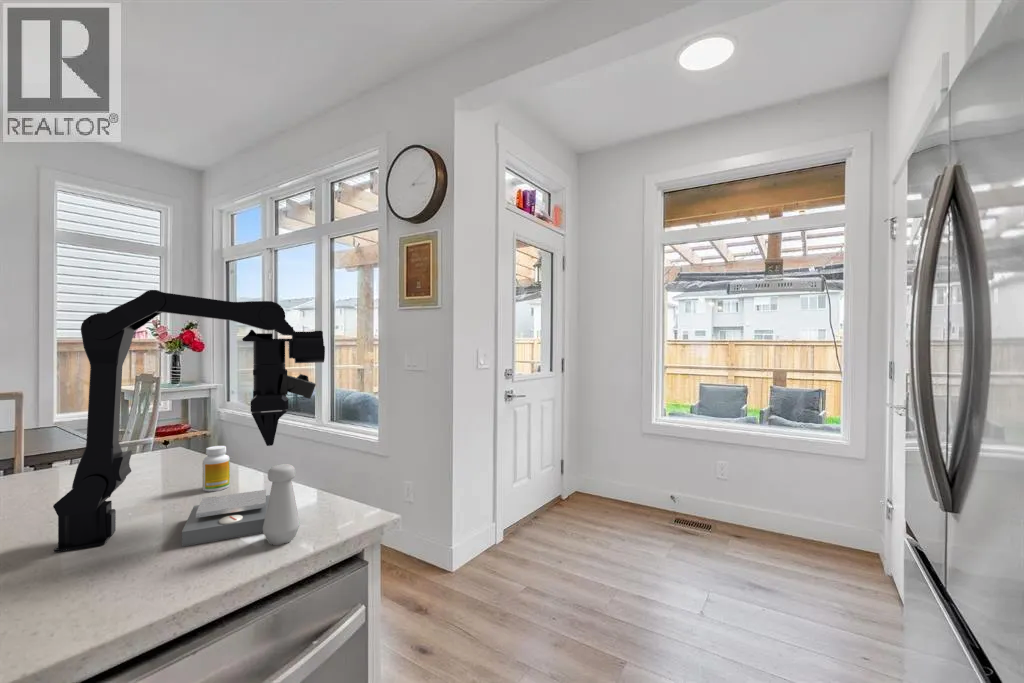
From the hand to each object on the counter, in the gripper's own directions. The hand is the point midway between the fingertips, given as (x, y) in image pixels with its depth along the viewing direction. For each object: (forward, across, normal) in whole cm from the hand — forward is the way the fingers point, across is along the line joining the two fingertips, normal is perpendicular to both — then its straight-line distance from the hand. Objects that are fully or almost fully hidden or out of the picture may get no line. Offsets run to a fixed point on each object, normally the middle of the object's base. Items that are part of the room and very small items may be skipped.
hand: (269, 440), depth 92 cm
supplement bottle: (+15, +24, +11) cm, 30 cm away
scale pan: (+11, -1, +6) cm, 13 cm away
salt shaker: (+15, -15, -2) cm, 21 cm away
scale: (+15, -3, +6) cm, 16 cm away
